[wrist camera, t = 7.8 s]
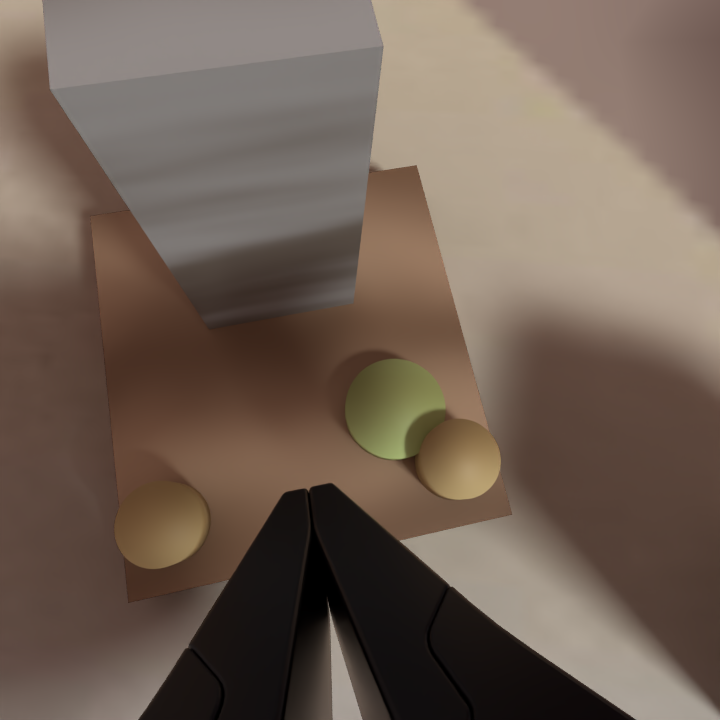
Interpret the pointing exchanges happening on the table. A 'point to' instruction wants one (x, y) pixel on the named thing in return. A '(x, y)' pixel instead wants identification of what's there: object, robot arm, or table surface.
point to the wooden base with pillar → (262, 282)
